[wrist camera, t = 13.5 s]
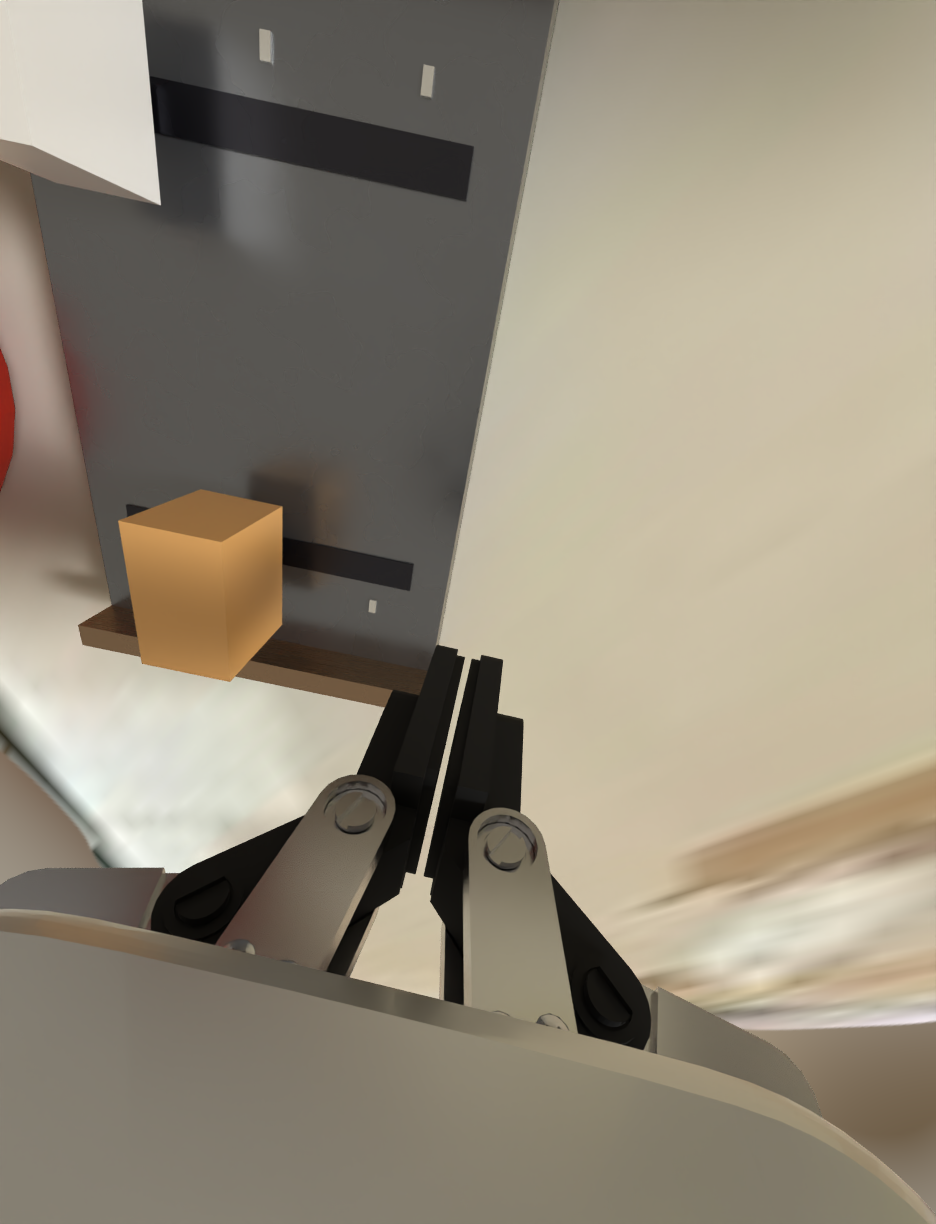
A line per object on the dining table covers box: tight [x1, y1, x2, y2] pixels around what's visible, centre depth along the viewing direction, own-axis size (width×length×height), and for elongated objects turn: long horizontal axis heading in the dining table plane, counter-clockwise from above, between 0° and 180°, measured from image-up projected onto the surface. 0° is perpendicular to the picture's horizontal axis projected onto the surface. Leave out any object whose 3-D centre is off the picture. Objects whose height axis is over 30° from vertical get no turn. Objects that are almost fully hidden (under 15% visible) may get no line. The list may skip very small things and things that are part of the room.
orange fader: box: [118, 489, 282, 682], centre depth 17 cm, size 3×5×5 cm, turn 169°
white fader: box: [0, 0, 161, 205], centre depth 11 cm, size 3×5×5 cm, turn 169°
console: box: [30, 0, 559, 707], centre depth 17 cm, size 15×24×4 cm, turn 169°
